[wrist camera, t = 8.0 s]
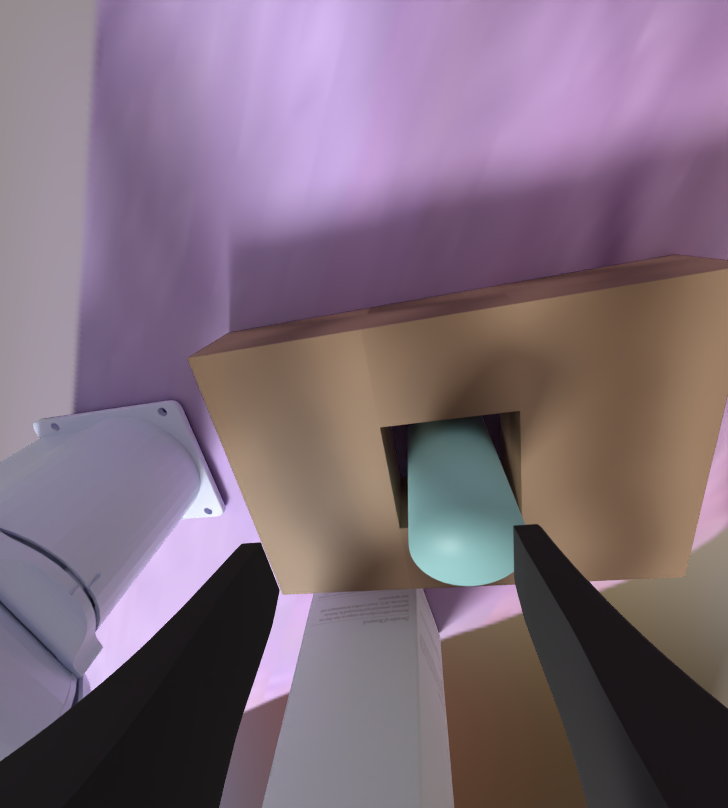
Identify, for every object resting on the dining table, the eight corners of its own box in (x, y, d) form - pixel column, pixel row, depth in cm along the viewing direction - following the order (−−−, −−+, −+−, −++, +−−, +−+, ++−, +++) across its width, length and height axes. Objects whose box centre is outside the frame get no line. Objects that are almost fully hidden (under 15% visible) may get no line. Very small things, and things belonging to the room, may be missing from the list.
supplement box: (313, 579, 26) (242, 854, 15) (417, 565, 24) (428, 861, 13) (346, 645, 29) (308, 917, 17) (441, 636, 27) (468, 929, 16)
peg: (413, 464, 21) (418, 589, 14) (401, 401, 19) (399, 506, 12) (487, 454, 20) (531, 582, 13) (480, 388, 19) (527, 492, 11)
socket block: (300, 540, 24) (282, 594, 21) (228, 332, 19) (187, 358, 15) (636, 516, 21) (684, 576, 17) (675, 254, 15) (758, 263, 12)
